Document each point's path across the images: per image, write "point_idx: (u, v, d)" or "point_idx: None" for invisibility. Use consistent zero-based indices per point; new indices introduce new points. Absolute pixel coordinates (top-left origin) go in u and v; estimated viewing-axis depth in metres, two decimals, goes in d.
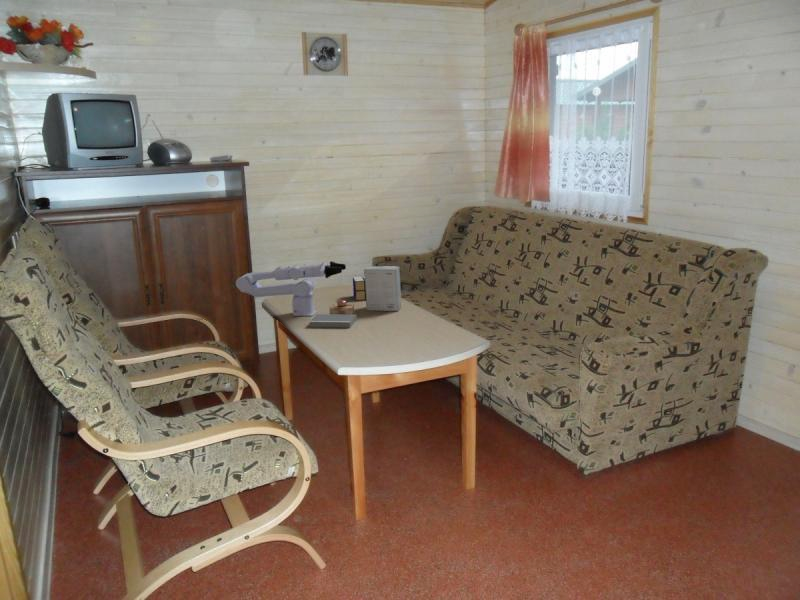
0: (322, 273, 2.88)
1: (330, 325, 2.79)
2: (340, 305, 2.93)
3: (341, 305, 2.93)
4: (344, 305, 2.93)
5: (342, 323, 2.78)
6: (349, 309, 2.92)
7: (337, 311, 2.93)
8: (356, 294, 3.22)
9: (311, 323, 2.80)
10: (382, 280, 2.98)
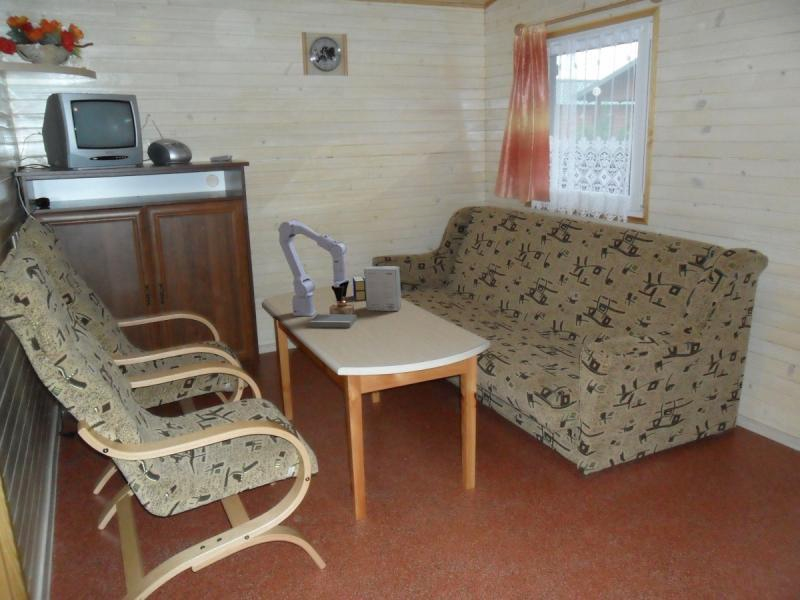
0: (336, 285, 2.85)
1: (330, 325, 2.79)
2: (340, 305, 2.93)
3: (341, 305, 2.93)
4: (344, 305, 2.93)
5: (342, 323, 2.78)
6: (349, 309, 2.92)
7: (337, 311, 2.93)
8: (356, 294, 3.22)
9: (311, 323, 2.80)
10: (382, 280, 2.98)
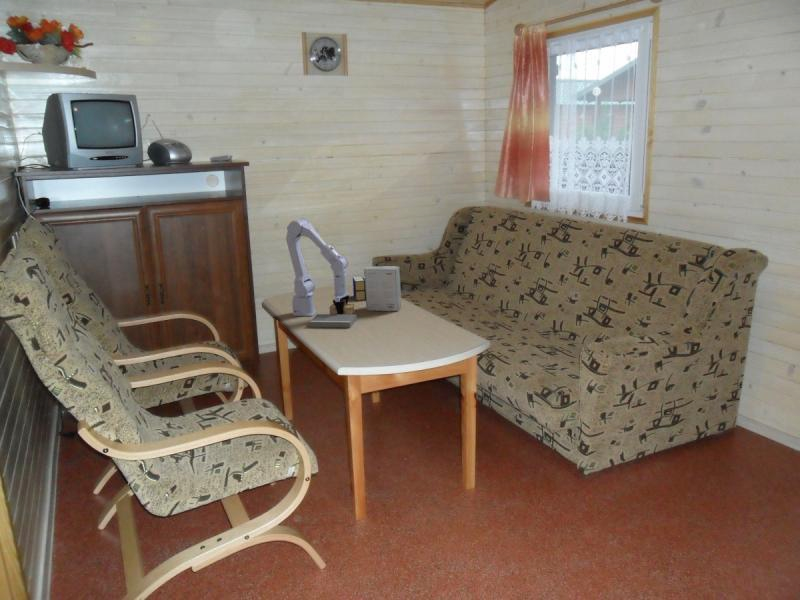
0: (336, 300, 2.87)
1: (330, 325, 2.79)
2: None
3: None
4: (344, 304, 2.93)
5: (342, 323, 2.78)
6: (349, 308, 2.92)
7: None
8: (356, 294, 3.22)
9: (311, 323, 2.80)
10: (382, 280, 2.98)
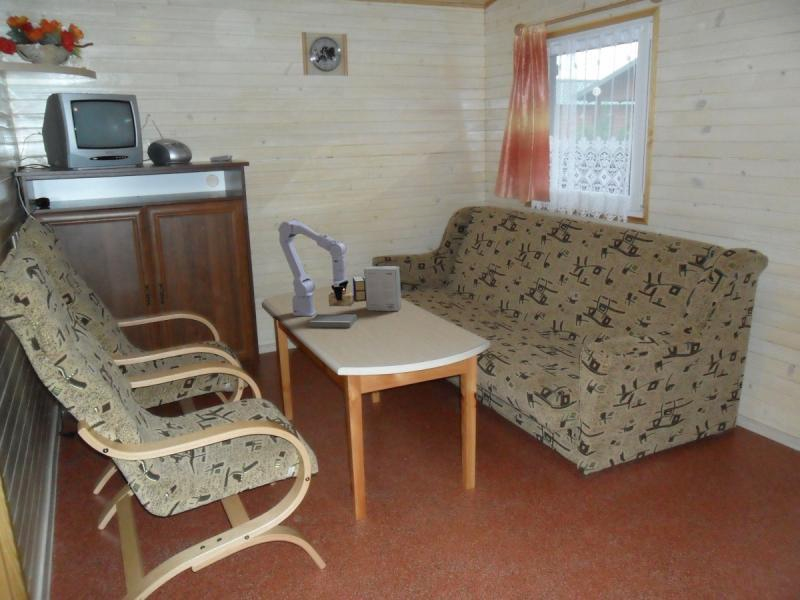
0: (335, 285, 2.84)
1: (330, 325, 2.79)
2: None
3: None
4: (343, 293, 2.91)
5: (342, 323, 2.78)
6: (348, 297, 2.90)
7: None
8: (356, 294, 3.22)
9: (311, 323, 2.80)
10: (382, 280, 2.98)
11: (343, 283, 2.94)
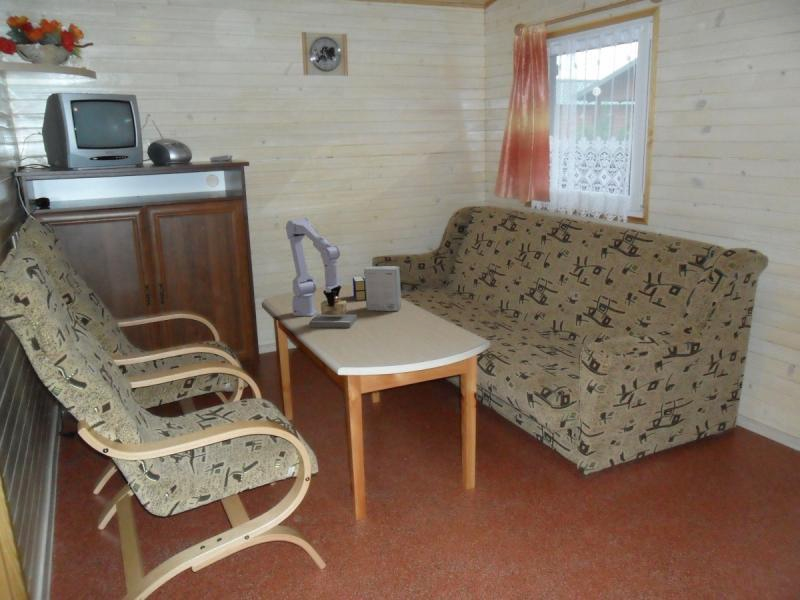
0: (327, 290, 2.75)
1: (330, 325, 2.79)
2: None
3: None
4: (336, 301, 2.82)
5: (342, 323, 2.78)
6: (341, 305, 2.80)
7: (329, 307, 2.81)
8: (356, 294, 3.22)
9: (311, 323, 2.80)
10: (382, 280, 2.98)
11: (336, 288, 2.85)
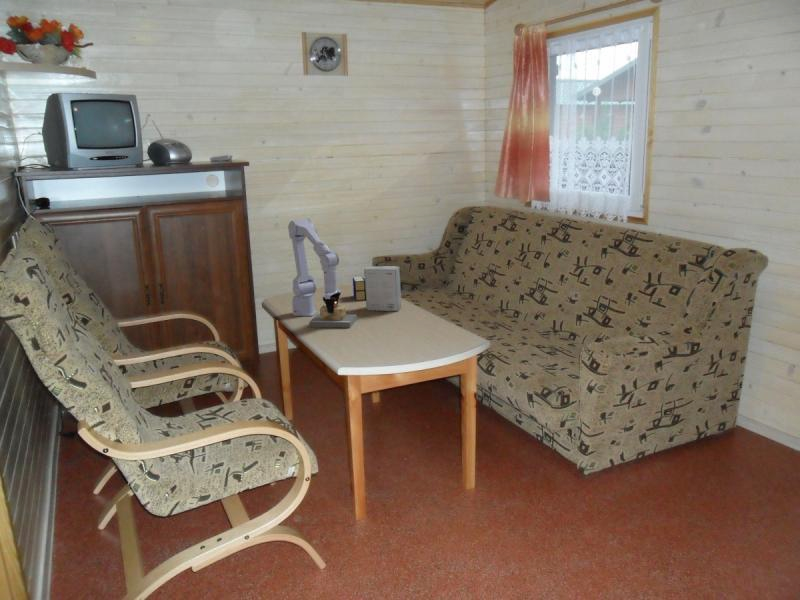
0: (327, 297, 2.74)
1: (330, 325, 2.79)
2: None
3: None
4: (335, 306, 2.81)
5: (342, 323, 2.78)
6: (340, 310, 2.80)
7: None
8: (356, 294, 3.22)
9: (311, 323, 2.80)
10: (382, 280, 2.98)
11: (335, 295, 2.84)
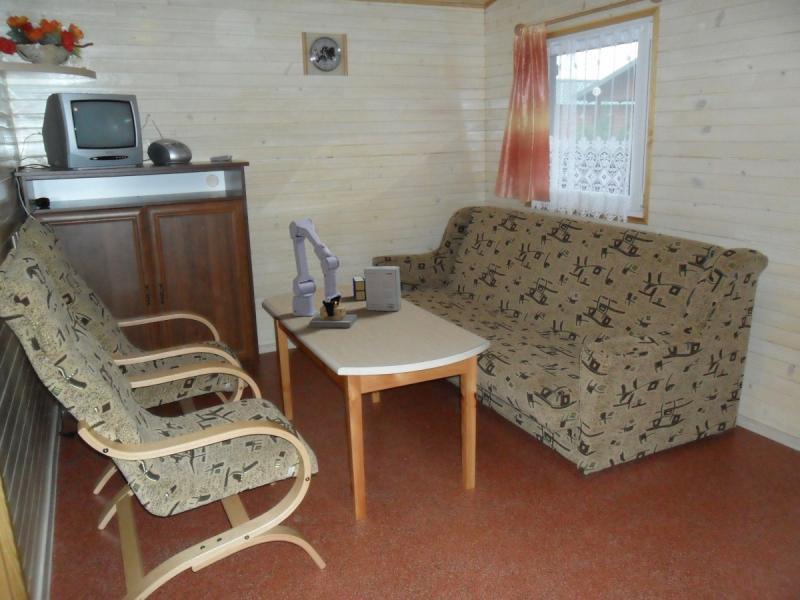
0: (327, 300, 2.75)
1: (330, 325, 2.79)
2: None
3: None
4: (335, 306, 2.81)
5: (342, 323, 2.78)
6: (340, 310, 2.80)
7: None
8: (356, 294, 3.22)
9: (311, 323, 2.80)
10: (382, 280, 2.98)
11: (336, 297, 2.85)
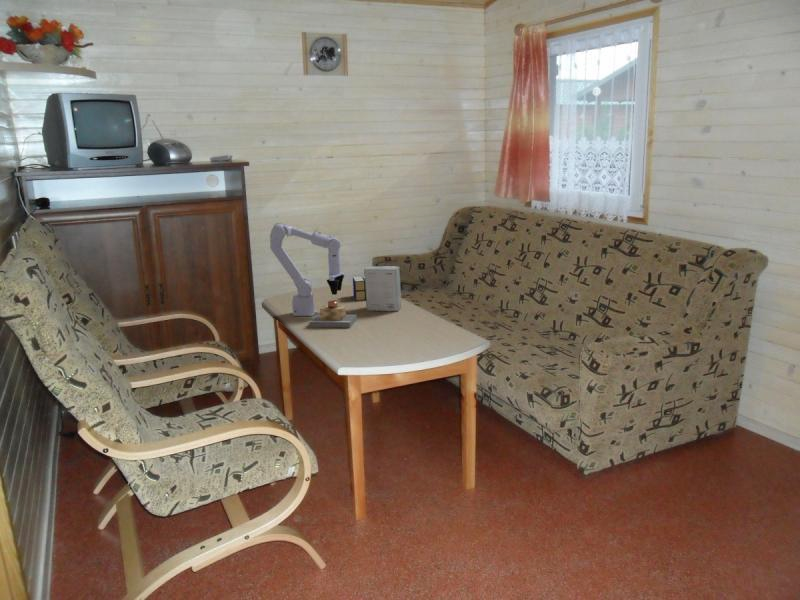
0: (331, 279, 2.92)
1: (330, 325, 2.79)
2: (331, 306, 2.81)
3: (332, 306, 2.81)
4: (335, 306, 2.81)
5: (342, 323, 2.78)
6: (340, 310, 2.80)
7: (328, 312, 2.81)
8: (356, 294, 3.22)
9: (311, 323, 2.80)
10: (382, 280, 2.98)
11: (339, 277, 3.03)
